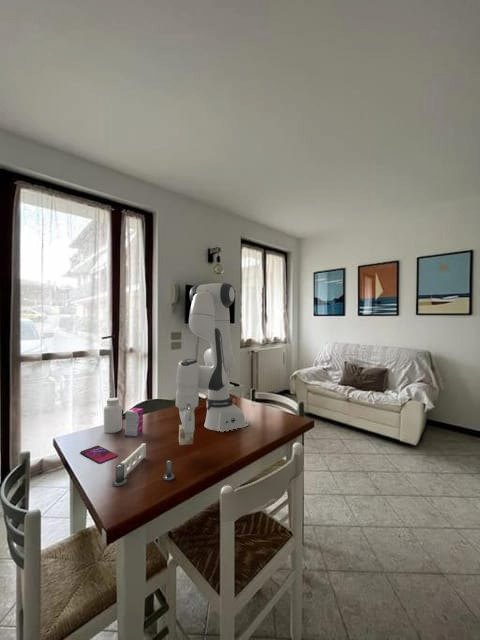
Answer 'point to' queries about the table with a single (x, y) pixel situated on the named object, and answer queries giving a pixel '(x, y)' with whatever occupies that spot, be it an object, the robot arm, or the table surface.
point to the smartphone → (98, 454)
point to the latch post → (169, 472)
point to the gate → (137, 459)
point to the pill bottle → (112, 416)
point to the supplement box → (134, 422)
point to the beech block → (182, 437)
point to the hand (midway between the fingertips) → (186, 436)
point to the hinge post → (119, 476)
